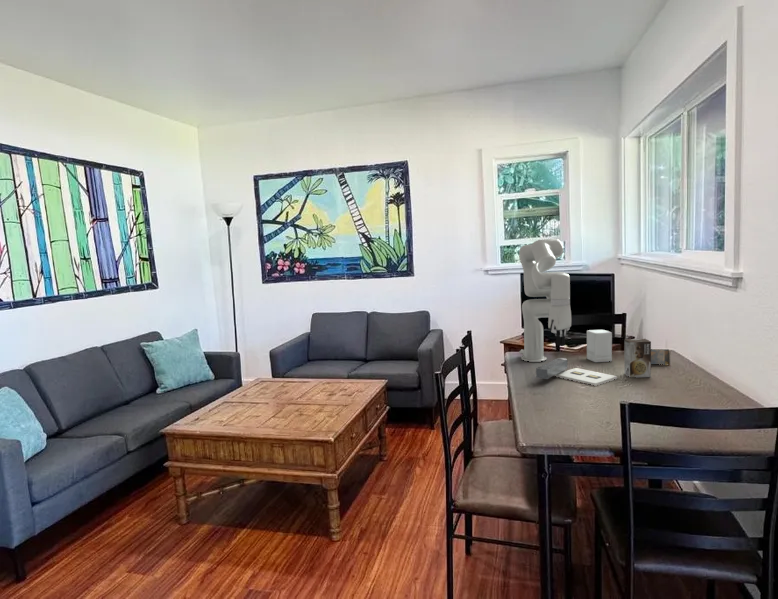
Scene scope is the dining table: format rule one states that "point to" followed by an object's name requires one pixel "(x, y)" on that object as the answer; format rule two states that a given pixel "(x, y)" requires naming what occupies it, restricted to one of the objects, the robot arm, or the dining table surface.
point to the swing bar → (551, 368)
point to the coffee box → (637, 358)
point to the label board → (586, 376)
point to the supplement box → (599, 345)
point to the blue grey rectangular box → (660, 356)
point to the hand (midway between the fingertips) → (560, 345)
